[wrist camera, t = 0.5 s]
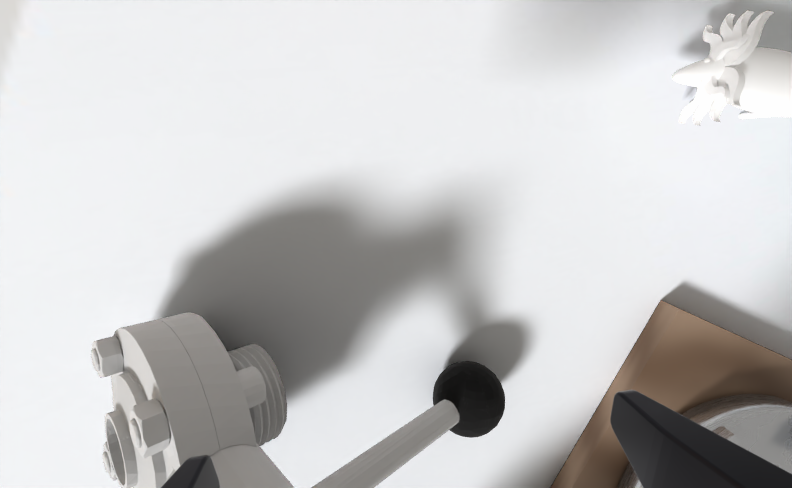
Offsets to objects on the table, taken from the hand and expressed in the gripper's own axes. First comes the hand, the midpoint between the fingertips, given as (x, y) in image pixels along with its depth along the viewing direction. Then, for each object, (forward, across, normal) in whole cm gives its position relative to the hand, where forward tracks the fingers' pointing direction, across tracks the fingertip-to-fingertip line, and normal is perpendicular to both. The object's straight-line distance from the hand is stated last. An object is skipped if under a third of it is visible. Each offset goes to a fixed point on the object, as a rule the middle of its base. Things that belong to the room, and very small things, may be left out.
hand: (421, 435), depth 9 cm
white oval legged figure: (+16, -22, -5) cm, 28 cm away
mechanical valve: (+14, +4, +9) cm, 17 cm away
